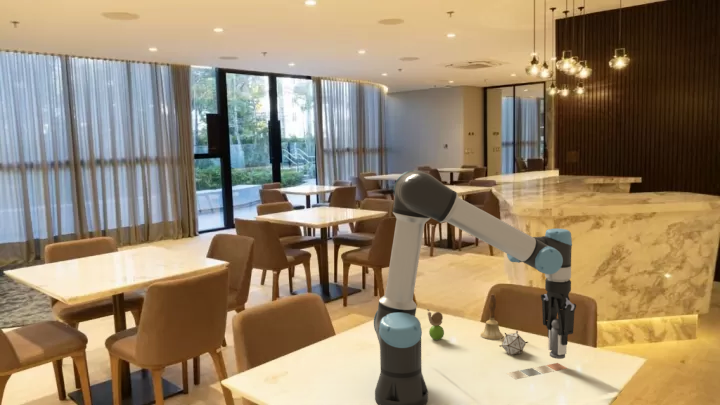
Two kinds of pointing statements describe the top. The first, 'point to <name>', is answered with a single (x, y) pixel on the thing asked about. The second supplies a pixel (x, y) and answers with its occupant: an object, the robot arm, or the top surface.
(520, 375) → the track
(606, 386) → the top surface
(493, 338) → the hand bell
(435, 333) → the snail figurine
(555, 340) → the pawn
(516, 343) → the game die
